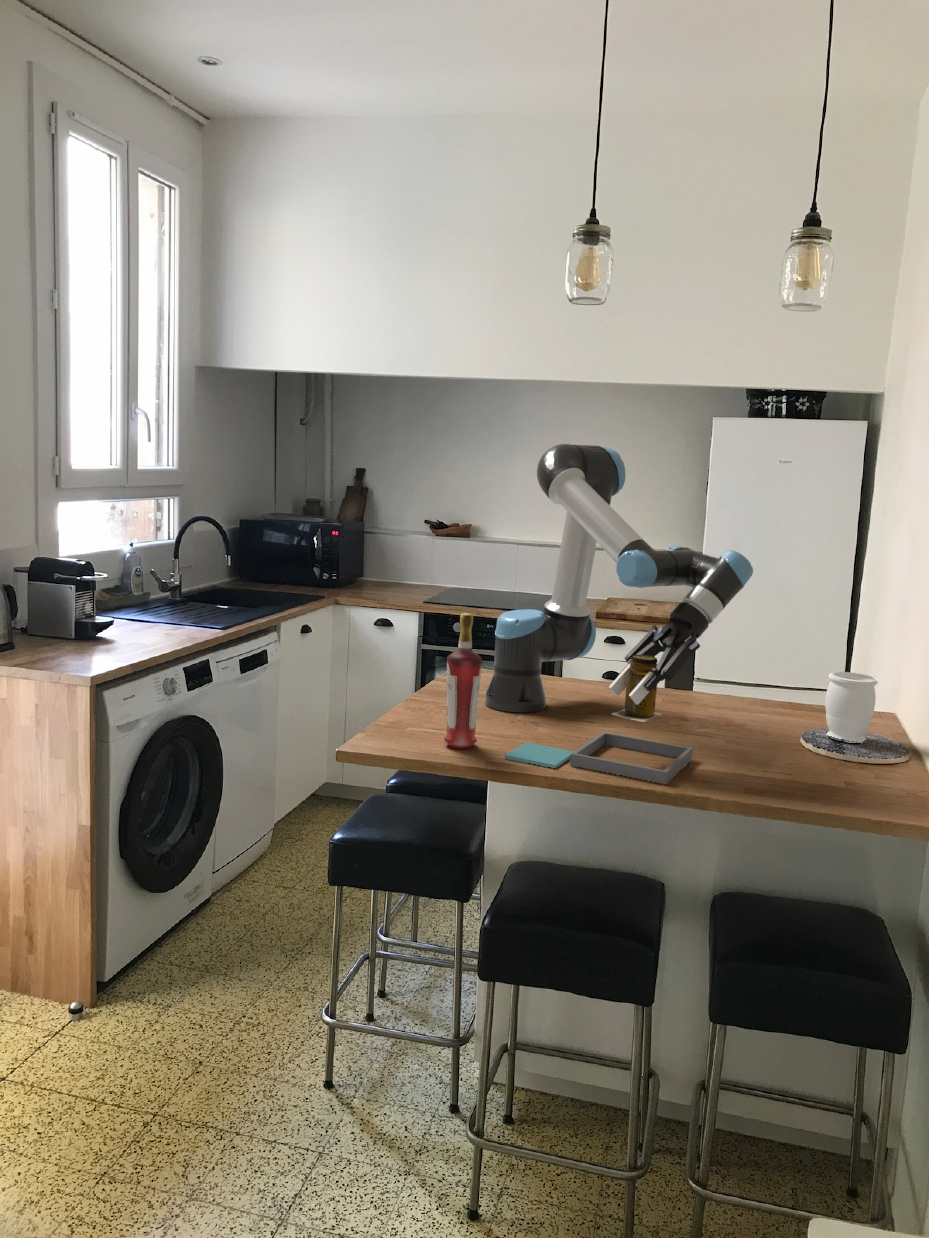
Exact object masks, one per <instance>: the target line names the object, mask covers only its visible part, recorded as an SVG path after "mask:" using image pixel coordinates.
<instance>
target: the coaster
mask: <svg viewBox="0 0 929 1238" xmlns="http://www.w3.org/2000/svg"><path fill="white" fill-rule="evenodd" d="M574 751H575V750H574ZM574 751H573V750H569V749H563V748H558V747H555V746H553V747H552V746H547V745H543V744H542V745H541V744H538V743H537V744H536V743H534V742H533V743H532V742H524V743H523V744H522V745H519V746H517V747H516V748H514V749H513V750H511V751H509V752H507V753H506V754H504V759H505V760H509V761H513V760H514V762H519V763H524V764H528V763H531V764H530V765H533V764H536V765H535V766H538V765H540V766H539V767H543V768H548V767H551V768H550V769H553V768H556V767H557V768H559V767H560V766H561V764H562V765H563V764H564V763H566V762H567V761H570V757H571V753H573V752H574ZM557 768H556V769H557Z"/></svg>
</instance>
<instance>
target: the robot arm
mask: <svg viewBox="0 0 929 1238" xmlns="http://www.w3.org/2000/svg"><path fill="white" fill-rule="evenodd" d="M624 463H625V462H624V460H623V459H622V457H621V455H620V454H619V452H617V451H616V450H615V449H614V448H611V447H606V446H601V445H592V444H570V443H562V444H561V443H560V444H556V445H554V446H552V447H550V448H548V449H547V450H546V451H544V453H543V454H542V455H541V458H540V459H539V460H538V463H537V469H536V478H537V481H538V484H539V487H540V489H541V490H542V491H543V493H544V495H545V496H546V497H548V499H549V500H550V501H551V502H552V503H554V504H556V505H561V506H562V507H563V508H564V509H565V510H566V513H565V517H564V519H565V520H564V524H563V526H564V527H563V531H562V536H561V543H560V548H559V555H558V559H557V566H556V572H555V578H554V583H553V587H552V588H553V590H552V597H551V599H550V600H548V601H547V602H545V603H544V606H543V611H541V610H539V609H531V608H529V609H514V610H510V611H506V612H503V613H502V614H500V615H499V616H498V617H497V620H496V627H495V631H494V635H495V640H494V642H495V644H494V662H493V672H492V673H493V674H492V676H491V679H490V682H489V684H488V687H487V689H486V692H485V695H484V705H486V706H487V707H489V708H491V709H494V710H498V711H502V712H511V713H534V712H535V713H536V712H539V711H543V710H544V709H546V707H547V706H546V705H547V696H546V693H545V688H544V684H543V682H542V681H543V680H542V677H541V676H542V675H541V674H542V663H545V662H555V661H572V660H574V659H580V658H583V657H584V656H586V655H587V654H589V652H591V650H592V649H593V647H594V645H595V641H596V637H597V629H596V627H595V621H594V619H593V618H592V616H591V615H590V614H591V610H590V609H589V607H588V606H587V599H588V591H589V588H590V582H591V576H592V570H593V566H594V562H595V561H594V560H595V555H596V550H597V549H596V548H597V544H598V545H599V547H601V548H602V550H604V551H605V552H606V554H607V555H608V556H609V557H611V559H612V560H613V561H614V562H615V563H616V566H615V567H616V568H615V569H616V574H617V575H618V580H619V582H620V583H622V584H623V585H624V586H627V587H628V588H629V587H630V588H640V589H643V588H644V589H645V588H652V587H653V588H654V587H672V586H686V587H690V588H691V590H690V591H689V592H688V593H687V594H686V595H685V596H684V597H683V598H682V600H681V601H682V602H680V603H678V604H677V606H676V607H674V609H673V610H672V611H671V613H670V614H669V622H667V623H666V624H665V625H663V626H662V627H658V626H657V625H656V624H653V625H651V627H650V628H649V629H648V631H647V632H646V634H645V635H644V636H643V637H642V638H641V639H640V640H639V641H638V642H637V644H635V645H634V647H633V648H632V649H631V650H630V651H629V652H627V654H626V655H625V656H624V657H623V658H624V661H626V663H627V664H626V666H625V667H624V668H623V669H622V670H621V672H619V674H618V676H617V677H616V678H615V679H614V680H613V682H612V683H611V684H610V685H609V686H608V687H609V689H610V691H612V693H613V694H614V695H615V696H616V697H619V695H621V693H622V692H623V691H624V690H626V687H627V676H628V670H629V668H630V664H631V657H632V656H633V655H648V656H653V657H656V656H657V655H659V654H660V653H662V654H661V657H660V658H659V660H658V661H657V666H656V668H653V669H652V671H653V672H654V674H653V673H652V672H650V671H649V672H648V674H647V675H646V676H645V677H644V678H643V679H642V680H641V682H640V683H639V684H638V685H637V686H636V687H635V688H634V690H633V691H632V692H631V693H630V694H629V696H630V698H631V699H632V700H633V701H634V703H635V704H637V705H638V704H639V703H640V702H641V701H642V700H643V698H644V697H645V696H646V695H647V694H648V693H649V692H650V691H652V690H653V689H654V687H655V686H656V685H657V686H658V684H659V683H660V682H663V681H665V680H667V681H668V682H670V681H672V679H674V677H675V676H676V675H677V674H678V672H679V671H680V669H681V668H682V667H683V666H684V665H685V664H686V662H687V661H688V659H690V656H692V654H693V653H694V652H696V651H697V650H699V648H700V647H701V645H700V643H699V642H698V641H697V639H699V638H700V637H701V636H702V635H703V633H704V632H705V631H706V630H707V629H708V628H709V625H710V624H712V623H714V622H713V621H715V620H716V619H717V617H718V616H719V615H720V614H721V613H722V611H723V610H725V608H726V607H727V606H728V604H729V603H731V601H732V600H733V599H734V598H735V597H736V596H737V594H739V592H740V591H741V590H742V589H744V588H745V585H746V584H747V583H748V581H750V579H751V578H752V576H753V575H754V568H753V566H752V563H751V562H750V560H749V559H748V558H747V557H746V556H745V555H743V554H742V553H740V552H738V551H736V550H733V549H731V550H726V551H725V552H723V553H722V554H720V556H719V558H718V557H715V556H711V555H707V554H704V553H701V552H699V551H696V550H693V549H691V548H690V547H687V546H686V547H684V546H680V545H672V546H669V548H667V549H665V550H655V549H654V548H653V547H652V546H650V544H649V543H647V542H646V541H645V540H644V538H643V537H641V536H640V535H639V534H638V532H636V530H634V528H633V527H632V526H631V525H630V524H629V523H628V522H626V520H625V519H624V518H623V517H622V516H621V515H620V514H619V513H618V512H617V511H616V510H615V509H614V508H613V507H612V506H611V502H612V497H613V496H615V495H617V494H619V493H620V491H621V490H622V489H623V487H624V486H625V482H626V466H625V464H624Z"/></svg>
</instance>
